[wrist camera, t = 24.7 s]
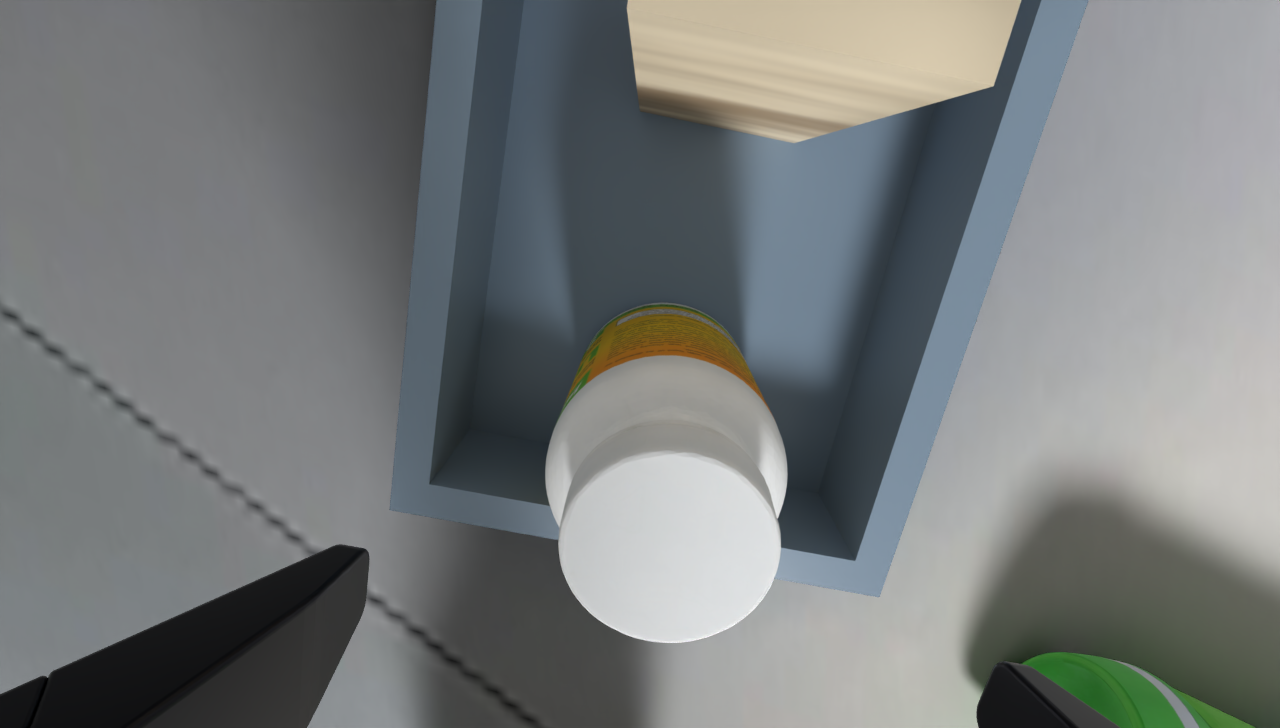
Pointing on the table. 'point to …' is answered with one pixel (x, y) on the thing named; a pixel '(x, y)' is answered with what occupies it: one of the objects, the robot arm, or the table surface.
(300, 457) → the table surface
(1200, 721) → the speaker
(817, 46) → the tall ash block
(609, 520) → the supplement bottle
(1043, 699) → the robot arm
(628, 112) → the tote
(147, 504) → the table surface
